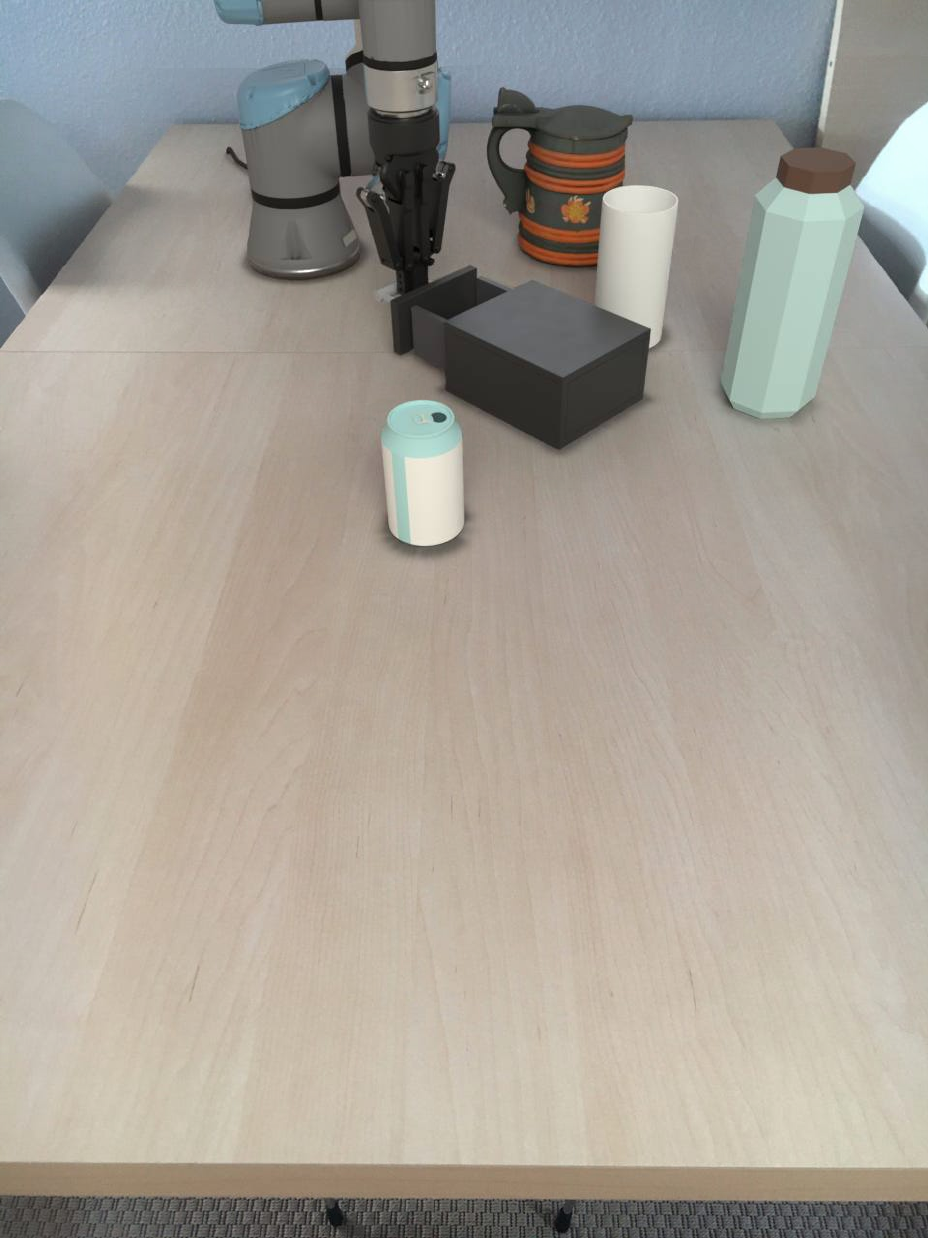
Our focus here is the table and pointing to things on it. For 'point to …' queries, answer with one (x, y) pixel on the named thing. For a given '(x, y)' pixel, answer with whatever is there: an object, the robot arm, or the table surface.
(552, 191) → the beer stein
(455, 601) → the table surface
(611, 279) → the cup
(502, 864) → the table surface
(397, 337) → the drawer
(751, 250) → the water bottle
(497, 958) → the table surface
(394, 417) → the can
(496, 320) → the cabinet
